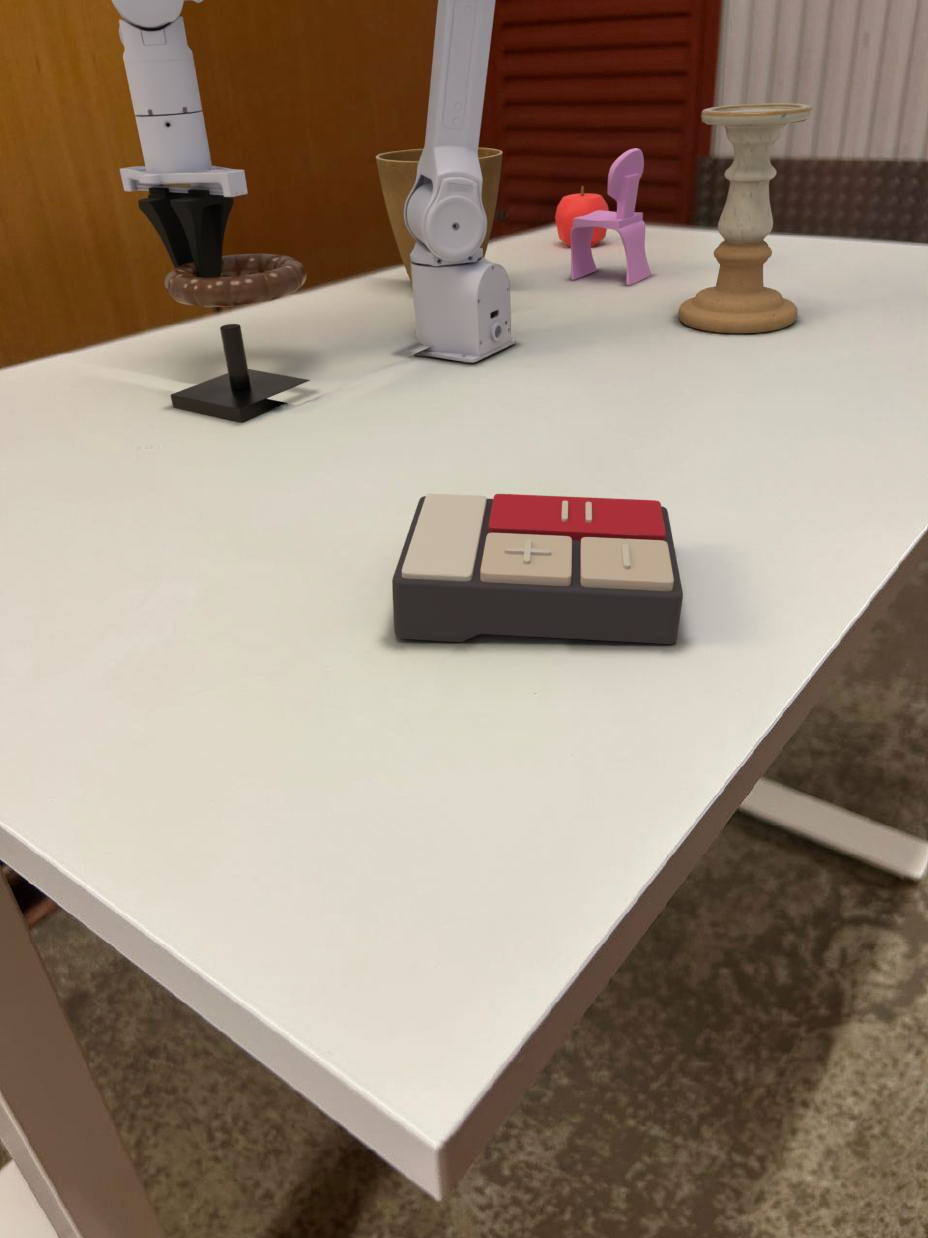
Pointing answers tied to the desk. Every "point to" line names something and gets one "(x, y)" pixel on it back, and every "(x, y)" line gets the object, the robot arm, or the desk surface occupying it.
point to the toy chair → (615, 221)
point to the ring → (237, 281)
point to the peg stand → (235, 385)
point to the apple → (579, 214)
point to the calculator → (538, 569)
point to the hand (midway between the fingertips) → (199, 276)
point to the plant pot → (400, 180)
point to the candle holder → (745, 226)
